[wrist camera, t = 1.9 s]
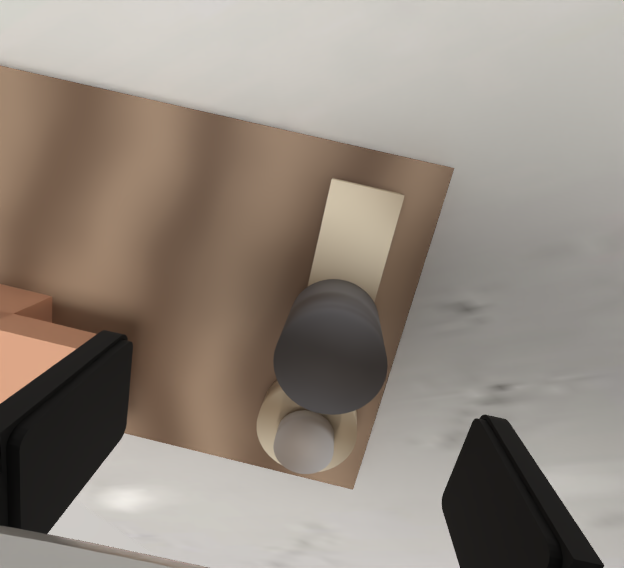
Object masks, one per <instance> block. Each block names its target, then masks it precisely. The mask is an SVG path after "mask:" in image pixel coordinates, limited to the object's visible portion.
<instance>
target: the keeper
mask: <svg viewBox="0 0 624 568" xmlns="http://www.w3.org/2000/svg"><path fill="white" fill-rule="evenodd" d="M95 335H96V334H95V333H91V332H87V331H83V330H79V329H75V328H71V327H66V326H62V325H58V324H54V323H52V296H49V295H44V294H40V293H36V292H32V291H28V290H24V289H19V288H15V287H11V286H7V285H3V284H0V403H2V402H3V401H5V400H6V399H7V398H9V397H10V396H12V395H13V394H14V393H16V392H17V391H19V390H20V389H21V388H23V387H24V386H26V385H27V384H28V383H30V382H31V381H32V380H34V379H35V378H37V377H38V376H39V375H41V374H42V373H44V372H45V371H46V370H48V369H49V368H51V367H52V366H53V365H55V364H56V363H58V362H59V361H60V360H62V359H63V358H64V357H66V356H67V355H69V354H70V353H71V352H73V351H74V350H76V349H77V348H78V347H80V346H81V345H83V344H84V343H85V342H87V341H88V340H89V339H91V338H92V337H94V336H95Z"/></svg>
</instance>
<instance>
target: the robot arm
mask: <svg viewBox="0 0 624 568" xmlns="http://www.w3.org/2000/svg"><path fill="white" fill-rule="evenodd" d="M132 354H133V343H132V342H131V341H128V338H127V336H126V335H125V334H120V333H116V332H111V331H107V330H103V331H101V332H99V333H98V334H96V335H95V336H94V337H92V338H91V339H89V340H88V341H87V342H85V343H84V344H83V345H81V346H80V347H78V348H77V349H76V350H74V351H73V352H71V353H70V354H69V355H67V356H66V357H64V358H63V359H62V360H60V361H59V362H58V363H56V364H55V365H53V366H52V367H51V368H49V369H48V370H46V371H45V372H44V373H42V374H41V375H39V376H38V377H37V378H35V379H34V380H32V381H31V382H30V383H28V384H27V385H26V386H24V387H23V388H21V389H20V390H19V391H17V392H16V393H14V394H13V395H12V396H10V397H9V398H7V399H6V400H5V401H3V402H2V403H0V568H208V567H203V566H199V565H194V564H189V563H185V562H180V561H175V560H170V559H166V558H161V557H156V556H151V555H147V554H142V553H137V552H132V551H127V550H123V549H118V548H114V547H109V546H104V545H99V544H94V543H90V542H84V541H80V540H74V539H69V538H64V537H59V536H53V535H48V534H47V533H48V532H49V531H50V530H51V528H52V527H53V526H54V524H55V523H56V522H57V521H58V519H59V518H60V517H61V515H62V514H63V513H64V512H65V510H66V509H67V508H68V506H69V505H70V504H71V503H72V501H73V500H74V499H75V497H76V496H77V495H78V494H79V492H80V491H81V490H82V488H83V487H84V486H85V485H86V483H87V482H88V481H89V479H90V478H91V477H92V476H93V474H94V473H95V472H96V470H97V469H98V468H99V467H100V465H101V464H102V463H103V461H104V460H105V459H106V458H107V456H108V455H109V454H110V452H111V451H112V450H113V449H114V447H115V446H116V445H117V443H118V442H119V441H120V440H121V438H122V436H123V434H124V432H125V429H126V425H127V414H128V402H129V390H130V378H131V366H132ZM442 509H443V513H444V516H445V520H446V523H447V526H448V529H449V533H450V536H451V539H452V542H453V546H454V549H455V552H456V556H457V559H458V562H459V565H460V568H603V567H604V564H603V563H602V561H601V560H600V558H599V557H598V555H597V554H596V552H595V551H594V549H593V548H592V546H591V545H590V543H589V542H588V540H587V539H586V537H585V536H584V534H583V533H582V531H581V530H580V528H579V527H578V525H577V524H576V522H575V521H574V519H573V518H572V516H571V515H570V513H569V512H568V510H567V509H566V507H565V506H564V504H563V503H562V501H561V500H560V498H559V497H558V495H557V494H556V492H555V491H554V489H553V488H552V486H551V485H550V483H549V482H548V480H547V479H546V477H545V476H544V474H543V473H542V471H541V470H540V468H539V467H538V465H537V464H536V462H535V461H534V459H533V458H532V456H531V455H530V453H529V452H528V450H527V449H526V447H525V446H524V444H523V443H522V441H521V440H520V438H519V437H518V435H517V433H516V432H515V430H514V429H513V427H512V426H511V424H510V423H509V422H508V421H507V420H506V419H502V418H498V417H493V416H489V415H482V416H481V417H480V419H475V420H474V421H473V422H472V425H471V427H470V429H469V432H468V434H467V437H466V439H465V442H464V444H463V447H462V449H461V451H460V454H459V456H458V459H457V461H456V464H455V466H454V469H453V471H452V474H451V476H450V478H449V481H448V483H447V486H446V488H445V491H444V493H443V496H442Z"/></svg>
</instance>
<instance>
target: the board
mask: <svg viewBox="0 0 624 568" xmlns="http://www.w3.org/2000/svg"><path fill="white" fill-rule="evenodd" d="M453 170H454V168H451V167H446V166H442V165H437V164H433V163H429V162H424V161H420V160H415V159H411V158H406V157H402V156H398V155H393V154H389V153H384V152H380V151H375V150H371V149H367V148H362V147H358V146H353V145H349V144H344V143H340V142H336V141H331V140H327V139H322V138H318V137H314V136H309V135H305V134H300V133H296V132H291V131H287V130H283V129H278V128H274V127H269V126H265V125H260V124H256V123H252V122H247V121H243V120H238V119H234V118H229V117H225V116H221V115H216V114H212V113H207V112H203V111H198V110H194V109H190V108H185V107H181V106H176V105H172V104H167V103H163V102H159V101H154V100H150V99H145V98H141V97H136V96H132V95H128V94H123V93H119V92H114V91H110V90H105V89H101V88H97V87H92V86H88V85H83V84H79V83H75V82H70V81H66V80H61V79H57V78H52V77H48V76H44V75H39V74H35V73H30V72H26V71H21V70H17V69H13V68H8V67H4V66H0V284H3V285H7V286H11V287H15V288H19V289H24V290H28V291H32V292H36V293H40V294H44V295H49V296H52V323H54V324H58V325H62V326H66V327H71V328H75V329H79V330H83V331H87V332H91V333H95V334H98V333H99V332H101V331H103V330H107V331H111V332H116V333H120V334H125V335H126V336H127V338H128V341H131V342H132V343H133V354H132V366H131V378H130V390H129V402H128V414H127V425H126V429H125V432H124V433H126V434H130V435H134V436H138V437H142V438H146V439H150V440H154V441H158V442H162V443H166V444H171V445H175V446H179V447H183V448H187V449H191V450H195V451H199V452H203V453H207V454H211V455H215V456H219V457H223V458H227V459H231V460H235V461H239V462H243V463H247V464H251V465H256V466H260V467H264V468H268V469H272V470H276V471H280V472H284V473H288V474H292V475H296V476H300V477H304V478H308V479H312V480H316V481H320V482H324V483H328V484H332V485H336V486H341V487H345V488H349V489H353V488H354V484H355V481H356V478H357V475H358V472H359V469H360V465H361V462H362V459H363V456H364V453H365V450H366V446H367V443H368V440H369V437H370V434H371V431H372V427H373V424H374V421H375V418H376V415H377V412H378V408H379V405H380V402H381V399H382V396H383V393H384V389H385V386H386V383H387V380H388V377H389V373H390V370H391V367H392V364H393V361H394V358H395V354H396V351H397V348H398V345H399V342H400V339H401V335H402V332H403V329H404V326H405V323H406V320H407V316H408V313H409V310H410V307H411V304H412V301H413V297H414V294H415V291H416V288H417V285H418V282H419V278H420V275H421V272H422V269H423V266H424V262H425V259H426V256H427V253H428V250H429V247H430V243H431V240H432V237H433V234H434V231H435V228H436V224H437V221H438V218H439V215H440V212H441V209H442V205H443V202H444V199H445V196H446V193H447V190H448V186H449V183H450V180H451V177H452V174H453ZM332 178H336V179H340V180H345V181H349V182H353V183H358V184H362V185H366V186H371V187H375V188H380V189H384V190H388V191H393V192H397V193H401V194H402V195H404V200H403V203H402V207H401V210H400V214H399V217H398V221H397V224H396V228H395V231H394V235H393V238H392V242H391V246H390V249H389V253H388V256H387V260H386V263H385V267H384V270H383V274H382V277H381V281H380V284H379V288H378V291H377V295H376V298H375V302H374V303H375V305H376V308H377V310H378V315H379V320H380V325H381V330H382V335H383V340H384V345H385V351H386V356H387V365H388V366H387V374H386V379H385V381H384V384H383V386H382V388H381V390H380V391H379V392H378V394H377V395H376V396H375V397H374V398H373V399H372V400H371V401H370V402H369V403H367V404H366V405H365V406H363V407H361V408H359V409H357V410H356V412H357V439H356V443H355V446H354V449H353V450H352V452H351V454H350V455H349V456H348V457H347V458H346V459H345V460H344V461H343V462H342V463H340V464H339V465H337V466H336V467H334V468H331V469H329V470H326V471H322V472H319V471H321V470H323V469H324V468H326V467H327V466H328V465H329V463H330V462H331V460H332V457H333V452H334V431H333V428H332V426H331V424H330V423H329V421H328V420H327V419H326V418H324V417H323V416H322V415H320V414H318V413H316V412H312V411H307V410H300V411H295V412H292V413H290V414H288V415H287V416H285V417H284V418H283V419H282V420H281V422H280V424H279V426H278V429H277V433H276V436H275V440H274V445H273V449H274V453H275V456H276V458H277V460H278V461H279V462H280V463H281V464H282V465H283V466H282V465H281V464H279V463H277V462H276V461H275V460H273V459H272V458H271V457H270V456H269V455H268V454H267V453H266V451H265V450H264V449H263V447H262V445H261V443H260V441H259V438H258V435H257V418H258V415H259V412H260V409H261V406H262V403H263V401H264V398H265V396H266V393H267V391H268V390H269V388H270V387H271V386H272V385H273V384H274V383H275V382H276V381H277V379H276V375H275V372H274V366H273V358H274V351H275V348H276V345H277V342H278V340H279V337H280V335H281V332H282V330H283V327H284V325H285V323H286V320H287V318H288V315H289V313H290V310H291V308H292V305H293V303H294V301H295V299H296V298H297V296H298V295H299V294H300V293H301V292H302V291H303V290H304V289H305V288H307V287H308V282H309V278H310V273H311V269H312V264H313V260H314V256H315V251H316V247H317V242H318V238H319V233H320V229H321V224H322V220H323V215H324V211H325V206H326V202H327V197H328V193H329V189H330V184H331V180H332Z"/></svg>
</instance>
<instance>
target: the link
mask: <svg viewBox="0 0 624 568" xmlns="http://www.w3.org/2000/svg"><path fill="white" fill-rule="evenodd" d="M403 200H404V195H402V194H401V193H397V192H393V191H388V190H384V189H380V188H375V187H371V186H366V185H362V184H358V183H353V182H349V181H345V180H340V179H336V178H332V180H331V184H330V189H329V193H328V197H327V202H326V206H325V211H324V215H323V220H322V224H321V229H320V233H319V238H318V242H317V247H316V251H315V256H314V260H313V264H312V269H311V273H310V278H309V282H308V287H307V288H305V289H304V290H303V291H302V292H301V293H300V294H299V295H298V296H297V298H296V299H295V301H294V303H293V305H292V308H291V310H290V313H289V315H288V318H287V320H286V323H285V325H284V327H283V330H282V332H281V335H280V337H279V340H278V342H277V345H276V348H275V351H274V358H273V366H274V372H275V375H276V379H277V381H276V382H275V383H274V384H273V385H272V386H271V387H270V388H269V390H268V391H267V393H266V396H265V398H264V401H263V403H262V406H261V409H260V412H259V415H258V418H257V435H258V438H259V441H260V443H261V445H262V447H263V449H264V450H265V451H266V453H267V454H268V455H269V456H270V457H271V458H272V459H273V460H275V461H276V462H277V463H279V464H281V463H280V462H279V461H278V460H277V458H276V456H275V453H274V449H273V445H274V440H275V436H276V433H277V429H278V426H279V424H280V422H281V420H282V419H283V418H284V417H285V416H287V415H288V414H290V413H292V412H295V411H300V410H307V411H312V412H316V413H318V414H320V415H322V416H323V417H324V418H326V419H327V420H328V421H329V423H330V424H331V426H332V428H333V431H334V452H333V457H332V460H331V462H330V463H329V465H328V466H327V467H326V468H324V469H323V470H321V471H319V472H322V471H326V470H329V469H331V468H334V467H336V466H337V465H339V464H340V463H342V462H343V461H344V460H345V459H346V458H347V457H348V456H349V455H350V454H351V452H352V450H353V449H354V446H355V443H356V439H357V412H356V410H357V409H359V408H361V407H363V406H365V405H366V404H367V403H369V402H370V401H371V400H372V399H373V398H374V397H375V396H376V395H377V394H378V392H379V391H380V390H381V388H382V386H383V384H384V381H385V379H386V374H387V366H388V365H387V356H386V351H385V345H384V340H383V335H382V330H381V325H380V320H379V315H378V310H377V308H376V305H375V303H374V302H375V298H376V295H377V291H378V288H379V284H380V281H381V277H382V274H383V270H384V267H385V263H386V260H387V256H388V253H389V249H390V246H391V242H392V238H393V235H394V231H395V228H396V224H397V221H398V217H399V214H400V210H401V207H402V203H403ZM281 465H282V464H281ZM282 466H283V465H282Z"/></svg>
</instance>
